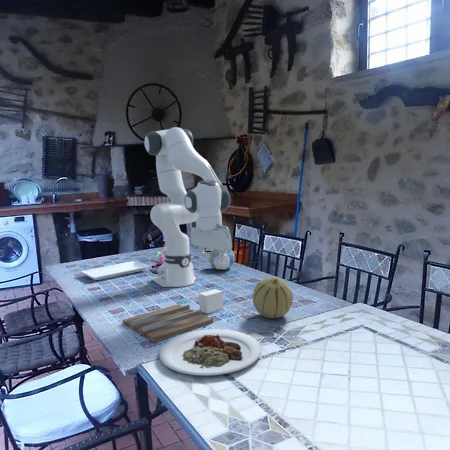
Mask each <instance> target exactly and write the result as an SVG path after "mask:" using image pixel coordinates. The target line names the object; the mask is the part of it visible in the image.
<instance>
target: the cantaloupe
mask: <svg viewBox="0 0 450 450" xmlns="http://www.w3.org/2000/svg"><path fill="white" fill-rule="evenodd" d="M293 297H294V296H293V292H292V289H291V287H290V286H289V284H288V283H287V282H286V281H285V280H284V279H282V278H280V277H278V276H277V277H276V276H271V277H265V278H263V279H262V280H260V281H259V282H257V284H256V285H255V287H254V289H253V292H252V303H253V307H254V308H255V310H256V312H257V313H258V314H260V315H261V316H262V317H265V318H267V319H279V318H281V317H284V316H286V314H287V313H289V311H290V310H291V307H292V305H293V299H294V298H293Z"/></svg>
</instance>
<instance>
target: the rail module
mask: <svg viewBox="0 0 450 450" xmlns="http://www.w3.org/2000/svg"><path fill="white" fill-rule="evenodd" d="M198 298H199V301H198V302H199V309H200V310H201V313H205V315H207V314H211V313H213V312H216V311H219V310H223V309H224V293H223V290H219V289H217V288H213V289H211V290H210V289H209V290H206V291H202V292H199V293H198Z"/></svg>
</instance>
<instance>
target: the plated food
mask: <svg viewBox="0 0 450 450" xmlns="http://www.w3.org/2000/svg"><path fill="white" fill-rule="evenodd" d="M158 354H159V355H158V356H159V359H160V362H162V363H163V365H164V366H166V367H167V368H168V369H170V370H173V371H174V372H176V373H181V374H185V375H191V376H201V377H202V376H207V377H208V376H220V375H226V374H231V373H234V372H239V371H241V370H243V369H246V368H248V367H249V366H251V365H252V364H255V362H256V361H258V359H259V358H260V356H261V354H262V347H261V343H259V341H258V340H257V339H255V338H254V337H253V336H251V335H249V334H246V333H244V332H242V331H237V330H233V329H231V330H230V329H223V328H222V329H220V328H219V329H218V328H217V329H216V328H214V329H213V328H211V329H200V330H199V329H198V330H195V331H191V332H190V331H188V332H184V333H181V334H178V335H176V336H175V337H172V338H171V339H169V340H168V341H166V342H165V343H164V344H163V345H162V346H161V348H160V349H159V353H158Z"/></svg>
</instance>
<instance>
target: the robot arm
mask: <svg viewBox="0 0 450 450" xmlns="http://www.w3.org/2000/svg"><path fill="white" fill-rule="evenodd" d="M144 137H145V138H144V148H145V151H146V152H147V154H149V155H150V156H155V167H156V168H155V169H156V175H157V181H158V187H159V191H160V192H161V193H162V194H164V195H166V196H167V197H168V198H169V199H170V201H169V202H161V203H158V204H155V205H154V206H153V207H151V210H150V221H151V222H152V223H153V225H154V226H156V227H157V228H158V229H159V230H160V232H162V235H163V237H164V244H166V255H165V256H164V257H165V260H164V261H165V262H164V263H161V265H160V266H158V268H157V271H156V273H157V274H156V276H155V277H153V278H152V281H153V282H155V283H156V284H158V285H159V286H160V287H162V288H169V287H173V288H177V287H178V288H179V287H186V286H190V285H194V283H195V281H196V280H197V277H196V276H195V272H194V265H193V263H192V262H191V261H192V259H191V255H192V254H191V252H190V240H191V244H192V245H193V246H194V247H198V250H199V253H200V257H201V259H207V258H208V256H207V255H208V254H207V252H206V250H205V249H211V250H214V249H215V250H218V253H219V256H218V257H217V261H218V262H222V261H223V256H224V253H225V251H229V250H232V248H233V242H232V237H231V233H230V232H231V230H230V228H229V227H228V226H227V225H225V224H224V225H223V222H222V221H223V216H222V213H224V212H226V211H227V210H228V209H229V207H230V205H231V203H232V198H231V194H230V192H229V191H228V189H227V188H226V187H225V186H224V185H223V183H222V182H221V180H220V179H219V177H218V176H217V174H216V172H215V170H214V169H213V167H212V166H211V164H210V163H209V162H208V160H207V159H206V158H204V157H202V155H201V154H199V153H198V152H197V151H196V149H195V148H194V137H193V134H192V132H191V130H189V129H186V128H180V127H178V126H174V127H171V128H168V129H162V130H157V131H155V130H153V131H152V130H151V131H150V132H148V133H146V135H145V136H144ZM182 172H186V173H189V174H190V173H191V174H194V175H196V176H199V177H200V178H202V179H203V180H200V181H198V183H197V186H195V187H194V188H193V189H190V190H188V191H187V190H186V188H185V184H184V181H183V176H182ZM186 224H189V226H190V228H191V229H190V239H189V236H188V235H187V234H186V233H184V232H183V231H181V228H180V225H186Z"/></svg>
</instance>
